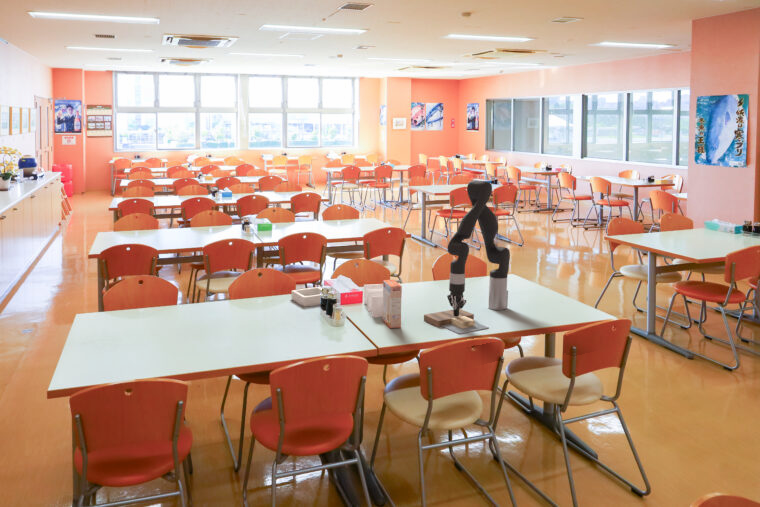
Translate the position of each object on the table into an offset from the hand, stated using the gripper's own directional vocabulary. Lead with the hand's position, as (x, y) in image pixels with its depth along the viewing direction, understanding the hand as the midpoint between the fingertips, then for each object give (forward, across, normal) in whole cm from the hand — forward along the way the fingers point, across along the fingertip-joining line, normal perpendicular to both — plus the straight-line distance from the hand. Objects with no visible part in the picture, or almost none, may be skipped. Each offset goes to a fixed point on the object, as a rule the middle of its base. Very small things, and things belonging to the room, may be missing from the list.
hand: (456, 316), depth 316 cm
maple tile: (+4, -5, -1) cm, 6 cm away
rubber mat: (+4, -6, 0) cm, 8 cm away
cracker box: (+4, +15, +28) cm, 32 cm away
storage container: (+4, +40, +21) cm, 45 cm away
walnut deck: (+4, +6, 0) cm, 7 cm away
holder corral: (+4, +73, +44) cm, 85 cm away
